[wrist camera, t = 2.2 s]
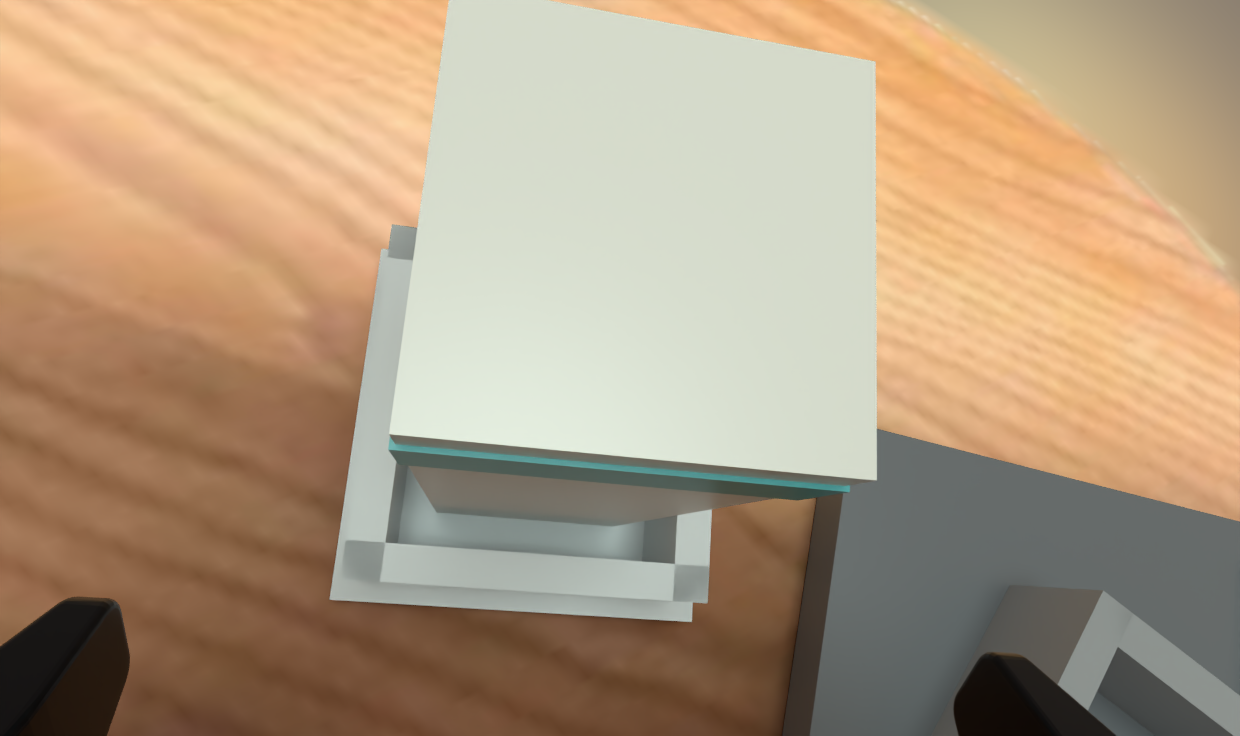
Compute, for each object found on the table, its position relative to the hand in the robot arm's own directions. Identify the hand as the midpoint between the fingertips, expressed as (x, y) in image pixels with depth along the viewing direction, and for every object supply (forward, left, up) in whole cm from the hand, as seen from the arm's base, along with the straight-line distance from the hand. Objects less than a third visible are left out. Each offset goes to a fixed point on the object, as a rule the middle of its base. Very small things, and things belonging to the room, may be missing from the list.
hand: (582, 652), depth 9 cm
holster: (+4, +1, -11) cm, 12 cm away
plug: (+4, +1, -10) cm, 11 cm away
